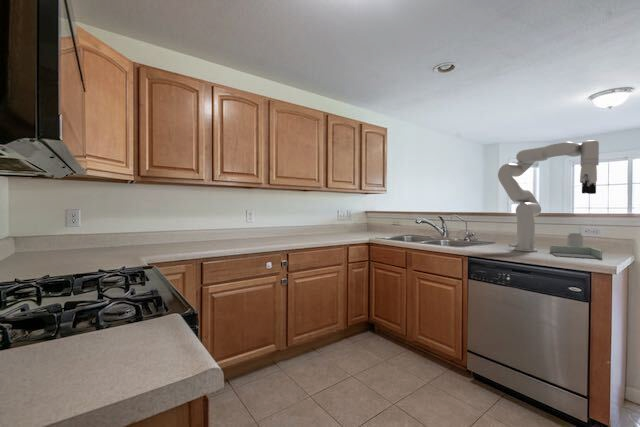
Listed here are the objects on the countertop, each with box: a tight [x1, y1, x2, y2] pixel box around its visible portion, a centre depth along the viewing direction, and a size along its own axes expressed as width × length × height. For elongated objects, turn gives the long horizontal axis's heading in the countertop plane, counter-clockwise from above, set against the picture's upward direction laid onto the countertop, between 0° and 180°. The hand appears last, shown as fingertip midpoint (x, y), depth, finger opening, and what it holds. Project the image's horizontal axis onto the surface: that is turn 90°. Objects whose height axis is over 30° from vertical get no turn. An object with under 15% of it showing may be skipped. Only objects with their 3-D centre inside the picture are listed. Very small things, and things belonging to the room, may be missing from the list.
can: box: [567, 232, 584, 247], centre depth 188 cm, size 8×8×12 cm
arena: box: [549, 245, 603, 260], centre depth 173 cm, size 20×16×5 cm
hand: (588, 193), depth 167 cm, fingers open, 9 cm apart
